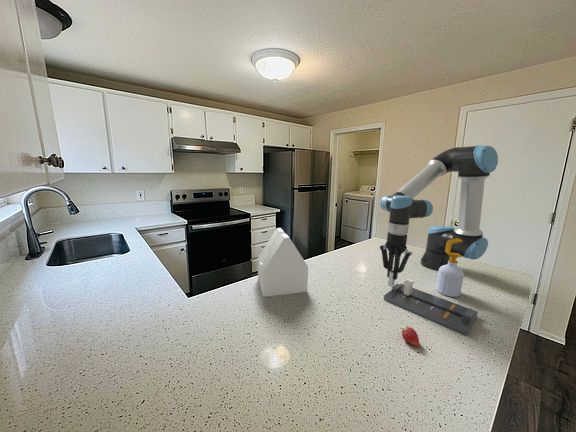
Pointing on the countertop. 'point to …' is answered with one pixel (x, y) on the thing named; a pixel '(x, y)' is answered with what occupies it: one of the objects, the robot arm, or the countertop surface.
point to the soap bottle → (450, 273)
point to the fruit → (410, 336)
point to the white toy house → (281, 267)
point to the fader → (408, 286)
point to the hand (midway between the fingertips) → (391, 285)
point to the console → (433, 308)
